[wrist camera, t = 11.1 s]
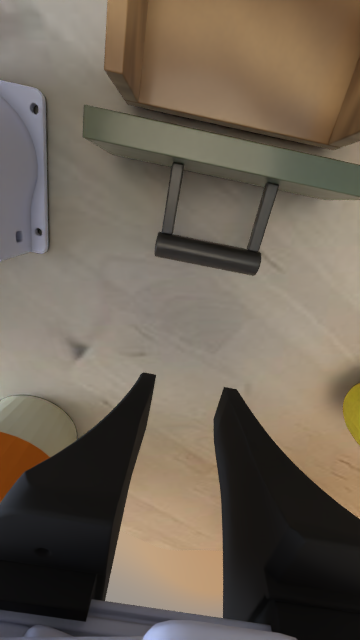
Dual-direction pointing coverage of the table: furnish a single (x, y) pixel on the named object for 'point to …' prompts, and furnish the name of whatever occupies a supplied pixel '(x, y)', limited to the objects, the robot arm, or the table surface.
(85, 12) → the table surface
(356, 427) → the lemon
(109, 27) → the drawer
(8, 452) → the reusable coffee cup
